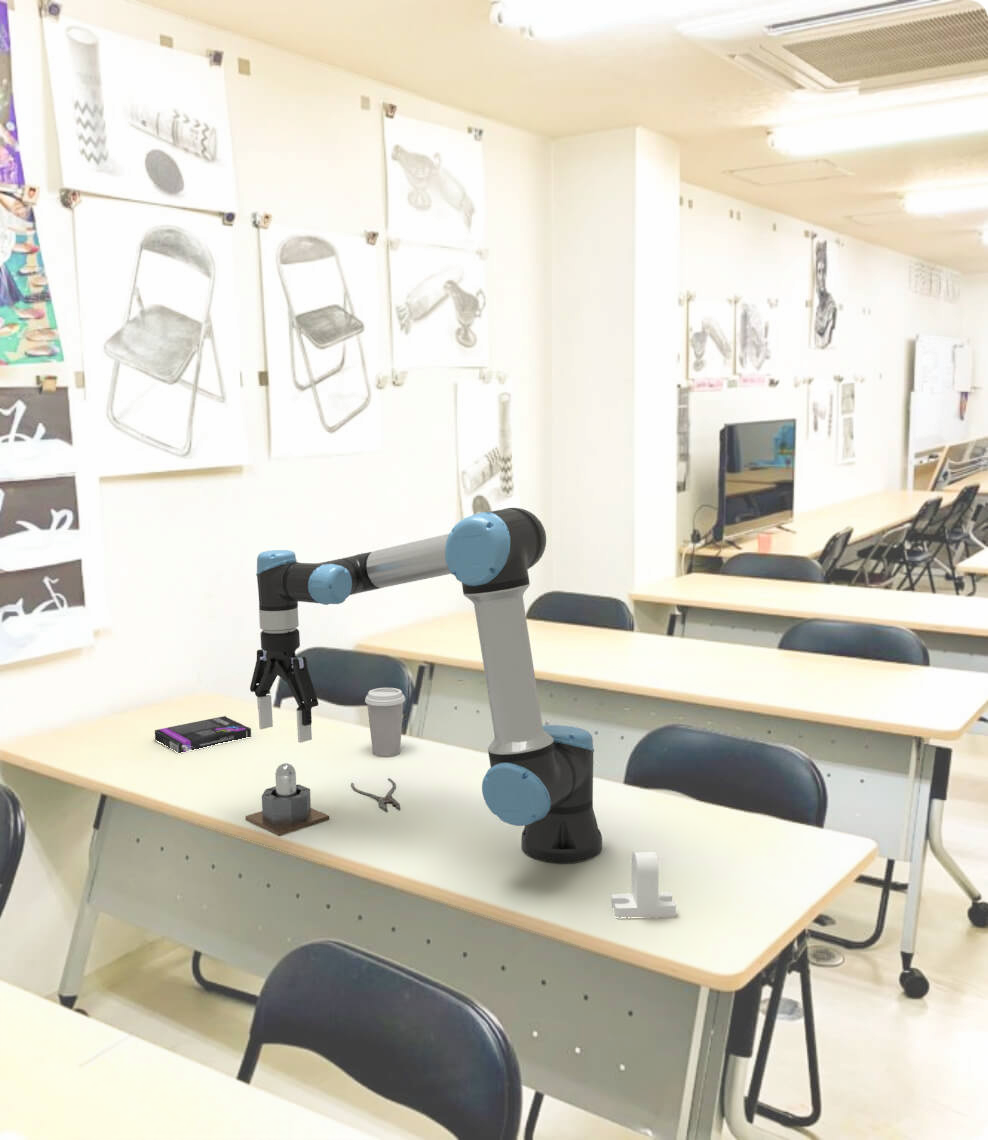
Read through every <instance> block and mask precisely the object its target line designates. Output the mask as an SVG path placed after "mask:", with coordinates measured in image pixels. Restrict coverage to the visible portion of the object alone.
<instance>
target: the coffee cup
mask: <svg viewBox="0 0 988 1140" xmlns="http://www.w3.org/2000/svg"><path fill="white" fill-rule="evenodd" d="M405 702H406V696H405V695H404V694H403V691H402V690H401V689H399V688H394V687H378V688H374V689H370V690H369V691H368V693H367V695H366V696H365V698H364V703H365V704H367V705H366V706H367V714H368V723H369V731H370V740H371V741H370V742H371V749H372V754H373V756H374V757H379V758H390V757H395V756H398V755H400V754H401V744H402V743H401V742H402V727H403V714H404V713H403V711H404V703H405Z"/></svg>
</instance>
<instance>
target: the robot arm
mask: <svg viewBox="0 0 988 1140" xmlns="http://www.w3.org/2000/svg"><path fill="white" fill-rule="evenodd" d="M544 527H545V526H544V525H543V523H542V521H541V520H540V519H539V518H538V517H537V516H536V515H535V514H534V513H533V512H531V511H529V510H526V509H525V508H520V507H507V508H502V509H497V510H491V511H486V512H485V511H484V512H482V511H481V512H478V513H474V514H472V515H469V516H466V517H465V518H463V519H461V520H459V521H458V522H457V523H455V525H454V527H452V529H451V531H449V533H446V534H443V535H442V534H441V535H437V536H434V537H430V538H425V539H420V540H416V541H412V542H407V543H404V544H399V545H394V546H390V547H385V548H381V549H377V550H374V551H368V552H362V553H359V554H358V553H357V554H355V555H350V556H348V557H343V558H338V559H332V560H328V561H323V562H317V563H316V562H315V563H308V562H307V563H306V562H298V561H297V558H296V553H295V552H294V551H293V550H288V549H277V550H276V549H275V550H273V549H272V550H266V551H261V552H260V553H259V554H258V555H257V557H256V574H255V575H256V579H257V581H256V582H257V592H258V603H259V604H258V617H259V629H260V630H262V631H261V632H260V648H261V649H257V650H256V661H255V664H254V668H253V669H254V670H253V673H252V677H251V682H250V685H249V691H250V692H251V693H253V692H254V694H255V696H256V697H257V698H256V699H257V710H258V711H257V713H258V726H259V730H264V729H269V728H272V727H273V725H274V724H273V722H274V721H273V706H272V704H273V703H272V694H271V689H272V687H273V685H274V683H275V682H276V678H277V677H279V678H282V680H283V682H286V683H287V685H288V687H289V689H290V691H291V693H292V695H293V698H294V700H295V702H296V703H297V708H296V725H297V726H296V727H297V742H298V743H305V742H308V741H312V740H313V737H312V735H313V734H312V723H313V722H312V721H313V719H312V708H314V707H315V708H316V707H317V706H319V700H318V698H317V695H316V692H315V691H316V690H315V688H314V684H313V682H312V679H311V676H310V673H309V669H308V663H307V662H308V661H307V658H306V656H301V657H297V655H296V651H297V649H299V648H300V646H301V640H300V630H299V628H298V627H299V623H300V622H299V609H298V607H299V602H300V603H301V602H302V603H311V604H321V605H327V606H328V605H339V604H342V603H343V604H344V602H345V601H346V600H347V599H348V598H349V596H352V595H357V594H361V593H365V592H370V591H374V590H375V591H376V590H380V589H384V588H388V587H393V586H398V585H404V584H408V583H413V582H417V581H421V580H423V581H424V580H428V579H433V578H436V577H437V578H438V577H442V576H447V575H453V576H454V577H455V579H456V580H457V581H458V582H461V587H462V592H463V593H462V594H463V596H464V597H466V598H467V599H468V600H469V601H471V602H472V604H473V605H474V607H473V608H474V614H475V618H476V619H475V620H476V621H475V622H476V625H477V632H478V639H479V644H480V652H481V657H482V658H481V659H482V663H483V665H482V666H483V670H484V676H485V677H484V678H485V682H486V688H487V689H486V690H487V695H488V701H489V708H490V715H491V720H492V721H491V723H492V728H493V733H494V738H493V740H492V741H491V743H490V744H489V745H488V747H487V753H488V758H489V765H490V767H489V769H487V771H486V773H485V775H484V777H483V779H482V784H481V793H482V796H483V800H484V803H485V805H486V806H487V808H488V809H489V811H490V812H491V813H492V814H493V815H494V816H497V817H498V819H499V820H500V821H502V822H503V823H506V824H508V825H512V826H517V827H522V826H524V828H523V830H522V832H521V839H520V840H521V843H520V844H521V850H522V851H523V853H524V854H525V855H526V856H527V857H528V856H529V857H530V858H533V859H535V860H538V861H541V862H547V863H555V864H556V863H557V864H571V863H580V862H584V861H588V860H590V859H593V858H595V857H596V856H598V855H600V853H601V852H602V850H603V836H602V832H601V830H600V829H599V825H598V821H597V817H596V814H595V811H594V753H595V748H594V739H593V738H594V737H593V736H592V733H590V731H588V730H586V729H584V728H580V727H577V726H576V727H575V726H570V725H558V724H557V725H556V724H555V725H554V724H549V725H548V724H545V725H543V720H542V714H541V708H540V701H539V694H538V689H537V688H538V687H537V681H536V676H535V673H536V672H535V669H534V661H533V655H532V647H531V642H530V636H529V635H530V634H529V627H528V622H527V614H526V609H525V603H524V602H525V601H524V594H525V592H526V591H527V589H528V588H530V577H529V571H528V570H529V569H532V567H534V566H535V565H536V564H537V563H538V562H539V561H540V560H541V558H542V557H543V554H544V552H545V551H546V548H547V547H546V546H547V534H546V530H545V528H544ZM270 694H271V695H270Z"/></svg>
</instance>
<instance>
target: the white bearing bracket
mask: <svg viewBox="0 0 988 1140" xmlns="http://www.w3.org/2000/svg"><path fill="white" fill-rule="evenodd" d="M631 856H632V857H631V892H630V893H612V894H610V895H611V899H610V901H611V905H612V906H611V905H610V906H611V909H612V908H614V909H613V911H614V912H613V913H615V915H614V917H615V916H616V917H619V918H621V917H626V918H628V917H630V918H631V917H668V918H675V917H676V915H677V914H676V913H677V904H676V902H675V901H676V900H675V901H673V895H672V893H671V892H670V891H659V873H660V872H659V861H658V857H657V853H656V852H655V851H638V852H637V851H634V852H632V855H631Z"/></svg>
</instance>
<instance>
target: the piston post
mask: <svg viewBox="0 0 988 1140" xmlns="http://www.w3.org/2000/svg"><path fill="white" fill-rule="evenodd" d="M296 772H297V771H296V769H295V767H294V766H293V765H292V764H290V763H281V764H280V765H278V767H276V771H275V773H274V775H275V786H276V797H292V796H296V795H297V792H296V785H297V773H296ZM244 818H245V821H246V822H249V823H252V824H253V825H254V826H258V827H259V828H262V829H263V830H265V831H267V832H270V833H271V834H274V835H276V836H278V837H280V836H284V835H286V834H289V833H292V832H296V831H299V830H302V829H305V828H308V827H311V826H314V825H317V824H319V823H323V822H326V821H329V820H330V819H331V818H330V815H329V814H327V813H325V812H322V811H319V810H317V809H315V808H313V807H311V814H310V816H309V818H308V820H304V821H301V822H298V823H295V824H292V825H273V824H271V823H269V822H267V821H264V820H263V814H262V810H261V811H258V812H254V813H251V814H248V815H245V817H244Z"/></svg>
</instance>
